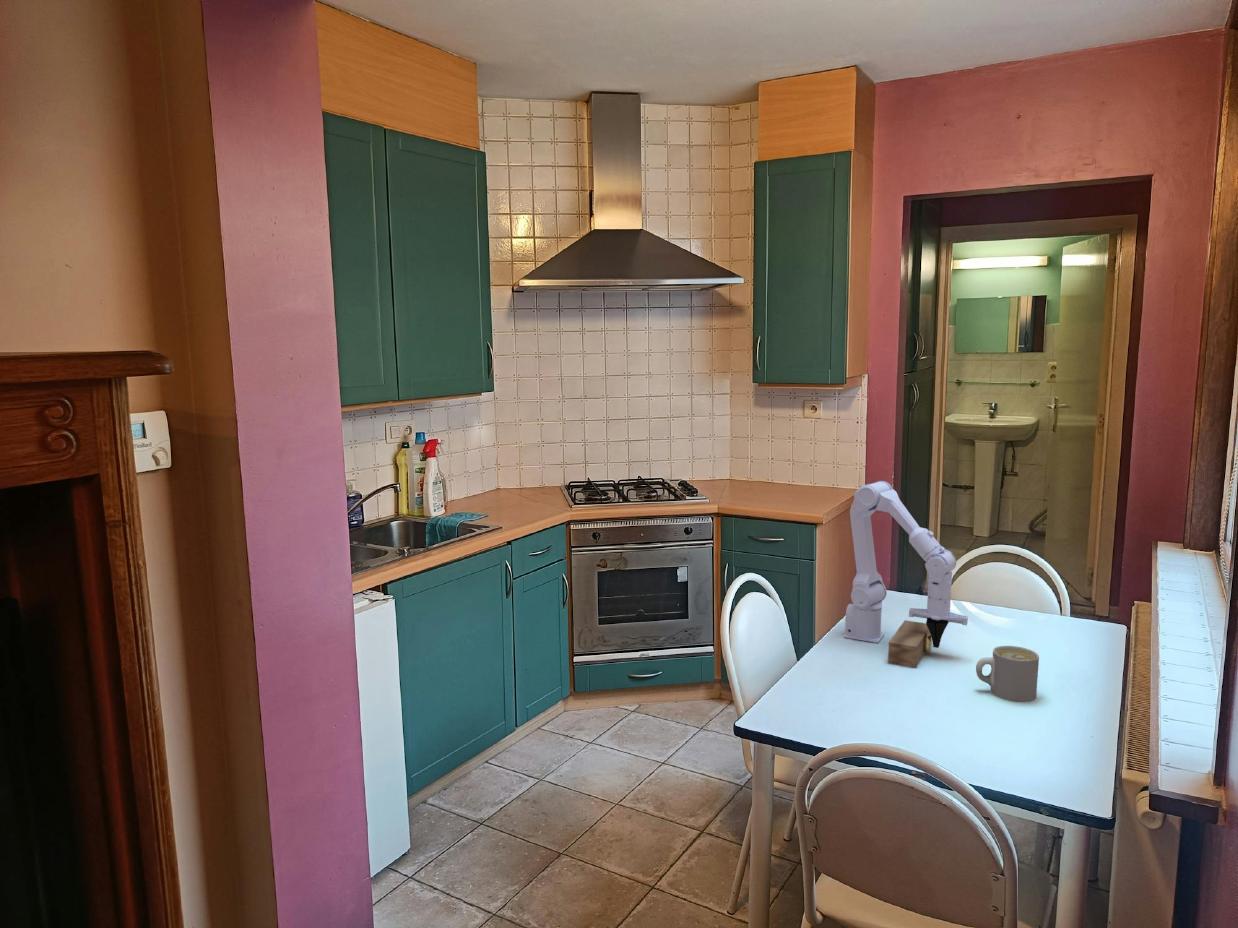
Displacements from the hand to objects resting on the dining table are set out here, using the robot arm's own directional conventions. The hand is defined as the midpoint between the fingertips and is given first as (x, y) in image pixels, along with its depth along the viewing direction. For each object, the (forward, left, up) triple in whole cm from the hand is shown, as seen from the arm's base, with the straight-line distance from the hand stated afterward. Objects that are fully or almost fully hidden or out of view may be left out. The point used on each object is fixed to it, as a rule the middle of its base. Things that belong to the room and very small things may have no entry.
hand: (936, 646), depth 230 cm
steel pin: (-6, 0, -2) cm, 6 cm away
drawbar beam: (-6, -2, -2) cm, 7 cm away
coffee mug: (+19, -17, -3) cm, 25 cm away
